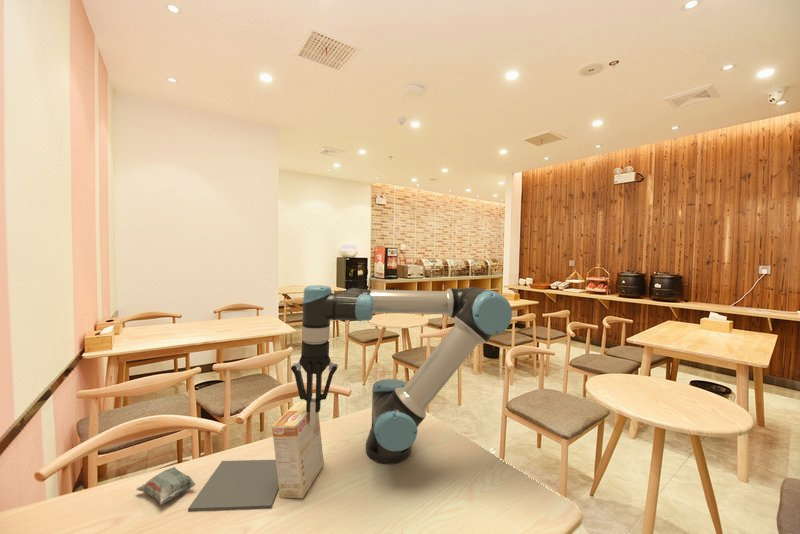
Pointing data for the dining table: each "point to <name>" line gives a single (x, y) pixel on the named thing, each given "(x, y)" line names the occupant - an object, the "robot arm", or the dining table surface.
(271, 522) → the dining table surface
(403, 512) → the dining table surface
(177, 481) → the packaged food
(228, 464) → the mat
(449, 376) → the robot arm
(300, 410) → the coffeecake box
